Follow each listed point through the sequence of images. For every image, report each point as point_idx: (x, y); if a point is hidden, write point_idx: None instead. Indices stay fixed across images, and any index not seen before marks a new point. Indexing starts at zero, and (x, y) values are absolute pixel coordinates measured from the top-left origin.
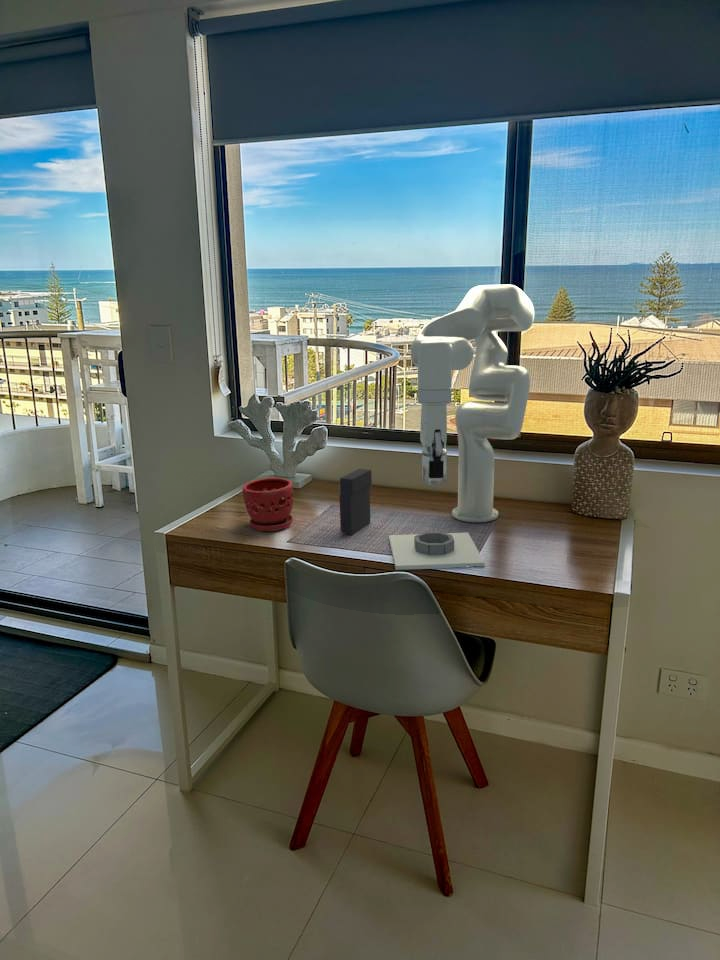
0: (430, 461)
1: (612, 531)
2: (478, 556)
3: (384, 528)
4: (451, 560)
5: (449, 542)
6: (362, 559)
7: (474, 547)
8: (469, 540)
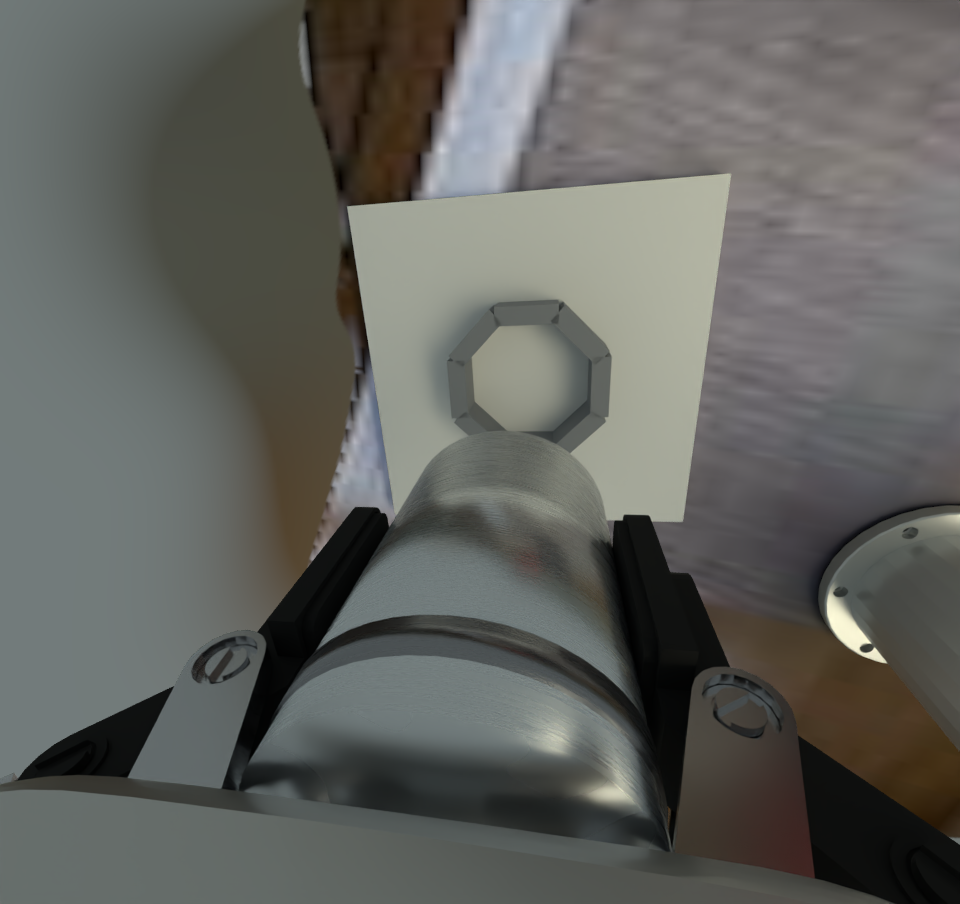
0: (270, 629)
1: None
2: None
3: (910, 147)
4: (408, 422)
5: None
6: (464, 32)
7: None
8: None
